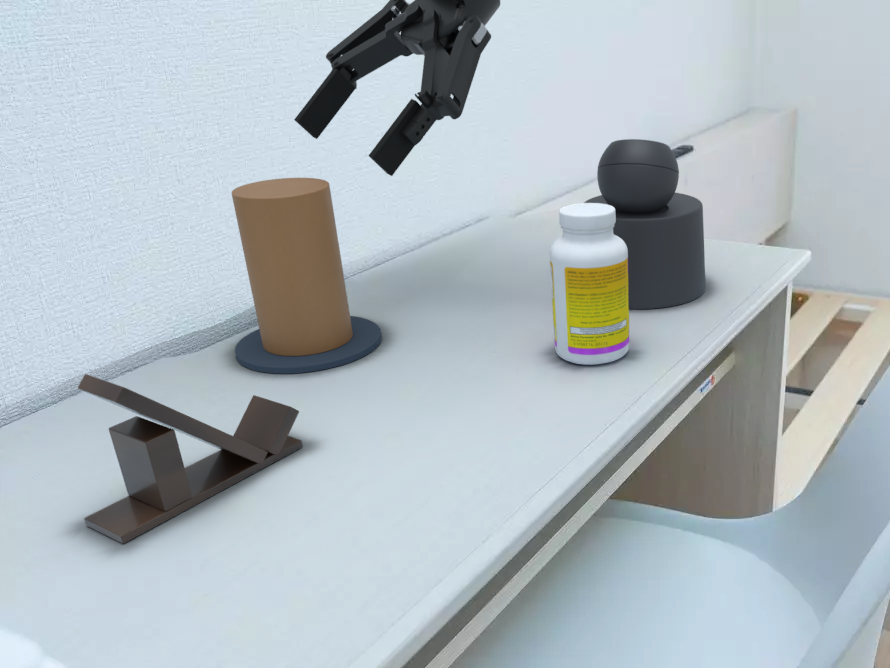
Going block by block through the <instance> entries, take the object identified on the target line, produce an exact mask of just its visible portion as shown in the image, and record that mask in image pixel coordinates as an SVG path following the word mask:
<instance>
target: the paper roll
mask: <svg viewBox="0 0 890 668" xmlns="http://www.w3.org/2000/svg"><path fill="white" fill-rule="evenodd" d="M231 198H232V202H233V207H234V212H235V217H236V218H235V219H236V221H237V228H238V232H239V236H240V237H239V238H240V241H241V247H242V251H243V255H244V260H245V266H246V271H247V275H248V280H249V285H250V290H251V294H252V299H253V300H252V301H253V306H254V310H255V314H256V319H257V325H258V329H259V330H260V334H261V339H262V344H263V348H264V349H265V350H266V351H267V352H269V353H272V354H275V355H281V356H306V355H313V354H319V353H323V352H327V351H330V350H333V349H336V348H338V347H340V346H342V345H344V344H346V343H347V342H348V341H349V340H350V339H351V338H352V336H353V331H352V325H351V319H350V316H351V314H350V306H349V300H348V295H347V288H346V281H345V275H344V269H343V262H342V256H341V250H340V243H339V237H338V230H337V224H336V218H335V217H336V216H335V212H334V211H335V210H334V205H333V199H332V198H333V197H332V192H331V185H330V182H329V181H327V180H325V179H321V178H317V177H315V178H313V177H284V178H272V179H266V180H258V181H254V182H250V183H246V184H242V185H240V186H237V187H235V188H234V189H233V190H232V191H231Z"/></svg>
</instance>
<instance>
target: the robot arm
mask: <svg viewBox="0 0 890 668" xmlns="http://www.w3.org/2000/svg"><path fill="white" fill-rule="evenodd" d="M500 7H501V0H413V1H412V2H410V3H409V2H407V0H389V1H387V3H386V4H385V5H384V6H383V7H382V9H380V10H379V11H378V12H377V13H375V14H374V15H373V16H371V17H370V18H369V19H367V21H365V22H364V23H363V24H361V25H360V26H359V27H357V28H356V29H355V30H354V31H353V32H351V33H350V34H349V35H348V36H346V37H345V38H344V39H342V40H341V41H340V42H339V43H338V44H336V45H335V46H333V47H332V49H330V50H329V51H328V52H327V53H326V55H325V59H326V60H327V62H329V64H330V67H331V71H330V72H329V74H328V75H327V76H326V77H325V79H324V80H323V82H322V83H321V84H320V85H319V87H318V88H317V89H316V90H315V92H314V94H312V96H311V97H310V98H309V100H308V101H307V102H306V103H305V105H304V106H303V107H302V109H301V110H300V111H299V113H298V114H297V115H296V116H295V117H294V119H293V120H294V122H296V124H297V125H299V126H300V127H301V128H302V129H303V130H304V131H305V132H306V133H308V134H309V135H310V136H311V137H312V138H314V139H315V140H318V139H319V137H320V136H321V135H322V133H323V132H324V131H325V130H326V128H327V127H328V125H330V123H331V121H332V120H333V119H334V117H335V116H336V115H337V114H338V112H339V111H340V110H341V109H342V107H343V106H344V105H345V103H346V102H347V101H348V100H349V98H350V97H351V95H352V94H353V93H354V91H355V90H357V89H358V88H357V87H358V81H359V80H361V79H362V78H364V77H366V76H367V75H369V74H371V73H373V72H374V71H377V70H378V69H380V68H382V67H383V66H385V65H387V64H389V63H390V62H392V61H394V60H395V59H397V58H399V57H400V56H402V57H410V56H411V55H416V56H424V57H423V67H422V68H423V69H422V76H421V84H420V91H418V92H417V93H414V97H415V98H416V99H417V100H418V101H419V102H420V103H419V102H418V101H417V100H415V99H414V98H411V99H410V100H409V101H408V103H407V104H406V105H405V106H404V108H403V109H402V111H401V112H400V113H399V114H398V116H397V117H396V118H395V120H394V121H393V123H392V124H391V125H390V126H389V128H388V129H387V130H386V132H385V133H384V134H383V136H381V138H380V140H379V141H378V142H377V144H376V145H375V146H374V147H373V149H372V150H371V151H370V153H369V154H368V157H369V158H370V159H371V160H372V161H373V162H374V163H375V164H376V165H377V166H379V168H381V169H382V171H384V173H386V174H387V175H389V176H390V177H393V176H394V175H395V173H396V172H397V170H398V169H399V167H400V166H401V165H402V164H403V162H404V161H405V159H406V158H407V157H408V156H409V154H410V153H411V152H412V150H413V149H414V148H415V146H417V145H418V144H419V143H420V142H421V141H423V139H424V137H425V136H426V135H427V133H428V132H429V130H430V129H431V128H432V126H433V125H434V124H435V123H436V122H437V121H441V120H443V119H444V118H445V117H450V118H451V119H452V120H457V119H459V118H461V116H462V114H463V112H464V109H465V105H466V102H467V99H468V96H469V93H470V89H471V86H472V84H473V81H474V78H475V74H476V70H477V67H478V64H479V61H480V59H481V55H482V53H483V52H484V50H485V49H486V47H487V45H488V44H489V42H490V40H491V39H492V34H491V33H490V32H489V30H488V29H487V27H486V25H487V24H488V23H489V22H490V20H491V19H492V17H493V16H494V15H495V14H496V12H497V11H498V10H499V8H500ZM451 96H452V97H451Z"/></svg>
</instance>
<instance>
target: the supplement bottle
mask: <svg viewBox="0 0 890 668" xmlns="http://www.w3.org/2000/svg"><path fill="white" fill-rule="evenodd" d="M558 212H559V214H558V224H559V225H560V229H561V230H562V235H561V236H559V237H558V238H556V239H555V240H554V241H553V243H552V244H551V246H550V248H549V266H550V267H549V268H550V285H551V301H552V303H551V304H552V320H553V322H552V323H553V337H554V338H553V339H554V340H553V341H554V349H555V352H556V354H557V355H558V356H559V357H560V358H561V359H563V360H565V361H566V362H569V363H572V364H576V365H577V364H578V365H585V366H586V365H587V366H592V365H593V366H595V365H603V364H608V363H613V362H616V361H617V360H619V359H621V358H623V357H625V355H627V353H628V351H629V349H630V309H629V294H628V249H627V246H626V244H625V242H624V241H623V240H622V239H621V238H620V237H618V236H616V235H614V234H613V227H614V224H615V222H616V213H615V208H614V207H613V206H611V205H607V204H601V203H584V202H580V203H572V204H567V205H565V206H562V207H561V208H560V209H559V211H558Z"/></svg>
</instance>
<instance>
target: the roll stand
mask: <svg viewBox="0 0 890 668" xmlns="http://www.w3.org/2000/svg"><path fill="white" fill-rule="evenodd" d="M77 389H78V390H79V391H82V392H84V393H87V394H89V395H91V396H94V397H96V398H99V399H101V400H103V401H106V402H108V403H110V404H112V405H115V406H117V407H120V408H122V409H125V410H127V411H129V412H130V413H131V412H132V413H134V414H136V416H133V417H131V418H129V419H126V420H123V421H122V422H119V423H117V424H114V425H112V426H110V427H108V432H109V435H110V436H109V437H110V439H111V442H112V445H113V449H114V452H115V455H116V459H117V462H118V465H119V469H120V472H121V476H122V479H123V482H124V486H125V489H126V493H127V496H126V497H124V498H121V499H119V500H118V501H115V502H113V503H111V504H110V505H107V506H105V507H104V508H101V509H100V510H98V511H95V512H93V513H92V514H90V515H88V516H86V517H84V518H83V520H84V523H85V526H86V527H87V528H90V529H93V530H94V531H96V532H99V533H101V534H102V535H105V536H106V537H109V538H110V539H112V540H114V541H116V542H119V543H121V544H123V545H124V544H126V543H127V542H129V541H132V540H133V539H135V538H136V537H139V536H141V535H142V534H144V533H147V532H148V531H150V530H152V529H154V528H156V527H157V526H159V525H161V524H163V523H166V521H168V520H170V519H172V518H174V517H176V516H177V515H180V514H182V513H183V512H185V511H187V510H189V509H191V508H193V507H194V506H197V505H198V504H200V503H202V502H204V501H206V500H207V499H209V498H211V497H213V496H215V495H217V494H218V493H220V492H222V491H224V490H226V489H228V488H230V487H231V486H233V485H235V484H237V483H239V482H241V481H243V480H244V479H246V478H248V477H250V476H253V474H256V473H257V472H259V471H261V470H263V469H265V468H266V467H268V466H270V465H273V464H274V463H276V462H278V461H279V460H281V459H283V458H285V457H287V456H289V455H291V454H293V453H294V452H296V451H298V450H300V449H302V448H303V441H302V440H301V439H299V438H296V437H293V436H290V433H291V431H292V428H293V426H294V424H295V421H296V419H297V418H298V415H299V413H300V411H299V410H298V409H296V408H294V407H292V406H290V405H287V404H283V403H280V402H278V401H275V400H271V399H268V398H265V397H261V396H258V395H255V394H253V395H252V396H251V398H250V401H249V403H248V405H247V407H246V409H245V411H244V413H243V415H242V416H241V419H240V421H239V423H238V426H237V427H236V429H235V431H234V433H233V435H232V434H229V433H227V432H225V431H222V430H220V429H218V428H216V427H214V426H211V425H209V424H207V423H205V422H203V421H201V420H199V419H196V418H194V417H192V416H189V415H187V414H185V413H183V412H180V411H178V410H176V409H174V408H171V407H170V406H167V405H166V404H162V403H160V402H158V401H156V400H154V399H152V398H149V397H147V396H145V395H142V394H140V393H138V392H136V391H133V390H132V389H129V388H128V387H127V388H126V387H124V386H121V385H119V384H116V383H113V382H110V381H108V380H105V379H101V378H99V377H96V376H94V375H90V374H86V373H85V374H84V375H83V377H82V379H81V381H80V382H79V385H78V386H77ZM176 432H178V433H181V434H182V435H185V436H188V437H190V438H193V439H195V440H197V441H199V442H202V443H204V444H207V445H208V446H212V447H213V448H216V449H219V450H218V451H216V452H214V453H212V454H210V455H208V456H206V457H204V458H202V459H200V460H198V461H196V462H194V463H191V464H190V465H188V466H186V467H185V465H184V460H183V457H182V454H181V449H180V446H179V442H178V438H177V435H176Z"/></svg>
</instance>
